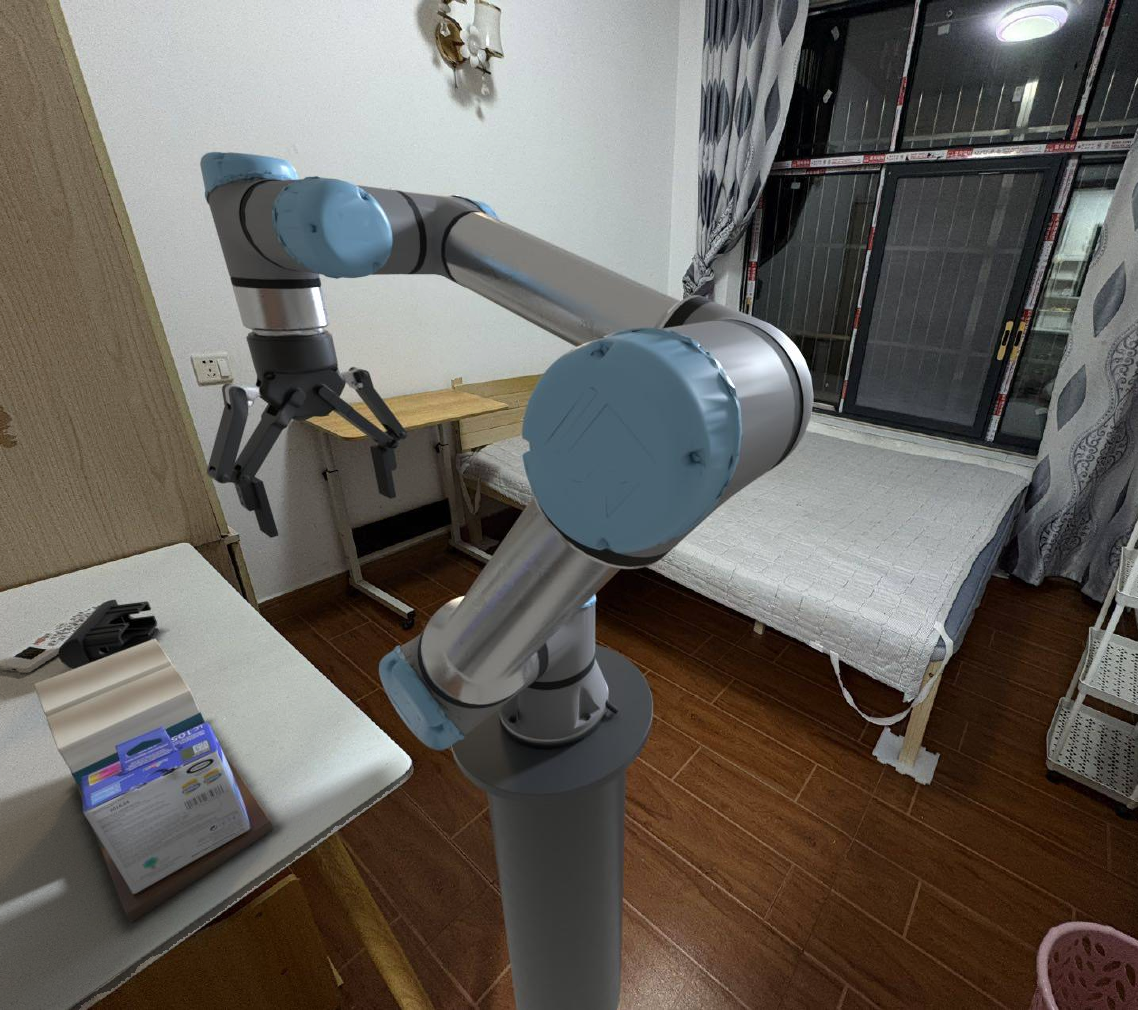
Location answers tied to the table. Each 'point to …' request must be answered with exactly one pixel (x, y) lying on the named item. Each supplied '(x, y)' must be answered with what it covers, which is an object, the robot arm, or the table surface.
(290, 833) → the table surface
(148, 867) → the ink cartridge box
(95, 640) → the end cap
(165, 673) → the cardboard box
